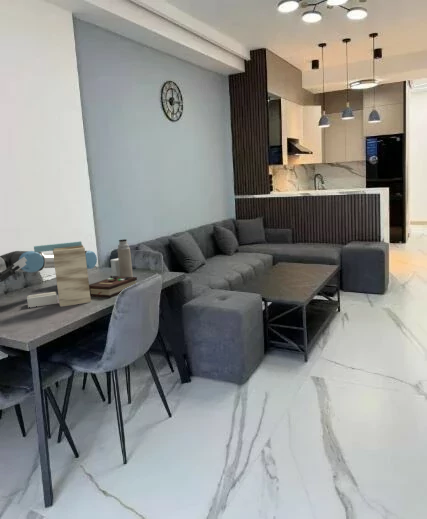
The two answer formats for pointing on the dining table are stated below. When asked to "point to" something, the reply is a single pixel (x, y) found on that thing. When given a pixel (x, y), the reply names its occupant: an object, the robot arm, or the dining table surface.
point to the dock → (42, 299)
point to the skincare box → (115, 267)
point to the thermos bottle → (124, 259)
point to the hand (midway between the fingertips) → (25, 260)
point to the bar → (55, 246)
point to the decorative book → (111, 286)
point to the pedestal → (71, 275)
